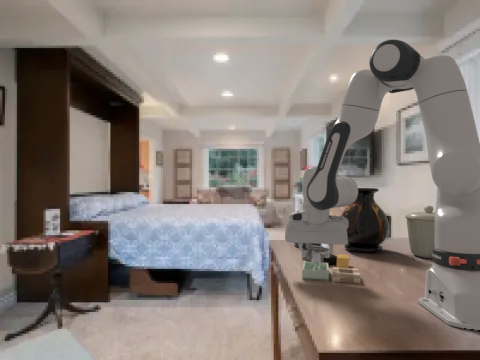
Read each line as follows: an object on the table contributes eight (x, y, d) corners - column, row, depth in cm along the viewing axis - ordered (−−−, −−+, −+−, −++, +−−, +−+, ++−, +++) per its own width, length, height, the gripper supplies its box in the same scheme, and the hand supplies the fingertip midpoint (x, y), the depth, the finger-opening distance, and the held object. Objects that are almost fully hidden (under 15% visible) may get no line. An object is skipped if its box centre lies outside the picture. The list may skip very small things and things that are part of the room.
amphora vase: (395, 256, 146) (395, 188, 146) (341, 254, 149) (342, 188, 149) (382, 246, 167) (382, 187, 167) (336, 244, 171) (336, 187, 171)
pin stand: (360, 283, 107) (360, 275, 107) (333, 281, 109) (333, 273, 109) (357, 276, 115) (357, 268, 115) (332, 274, 117) (332, 267, 117)
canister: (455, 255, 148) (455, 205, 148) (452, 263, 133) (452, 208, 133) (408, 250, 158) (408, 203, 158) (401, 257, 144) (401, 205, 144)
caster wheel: (338, 269, 135) (328, 270, 127) (311, 258, 141) (301, 259, 133) (342, 252, 135) (333, 252, 127) (316, 242, 141) (305, 242, 133)
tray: (328, 280, 110) (328, 271, 110) (302, 279, 112) (302, 269, 112) (327, 271, 121) (328, 263, 121) (303, 270, 123) (303, 261, 123)
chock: (348, 269, 124) (348, 258, 124) (336, 268, 125) (336, 257, 125) (349, 265, 130) (349, 255, 130) (338, 265, 131) (338, 254, 131)
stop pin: (321, 275, 114) (323, 248, 114) (309, 273, 115) (311, 247, 115) (321, 272, 118) (323, 246, 118) (309, 270, 118) (311, 245, 118)
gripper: (347, 214, 117) (347, 256, 117) (286, 213, 121) (286, 253, 121) (349, 216, 111) (349, 260, 111) (284, 215, 115) (284, 257, 115)
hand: (315, 256), depth 116 cm, fingers open, 6 cm apart
